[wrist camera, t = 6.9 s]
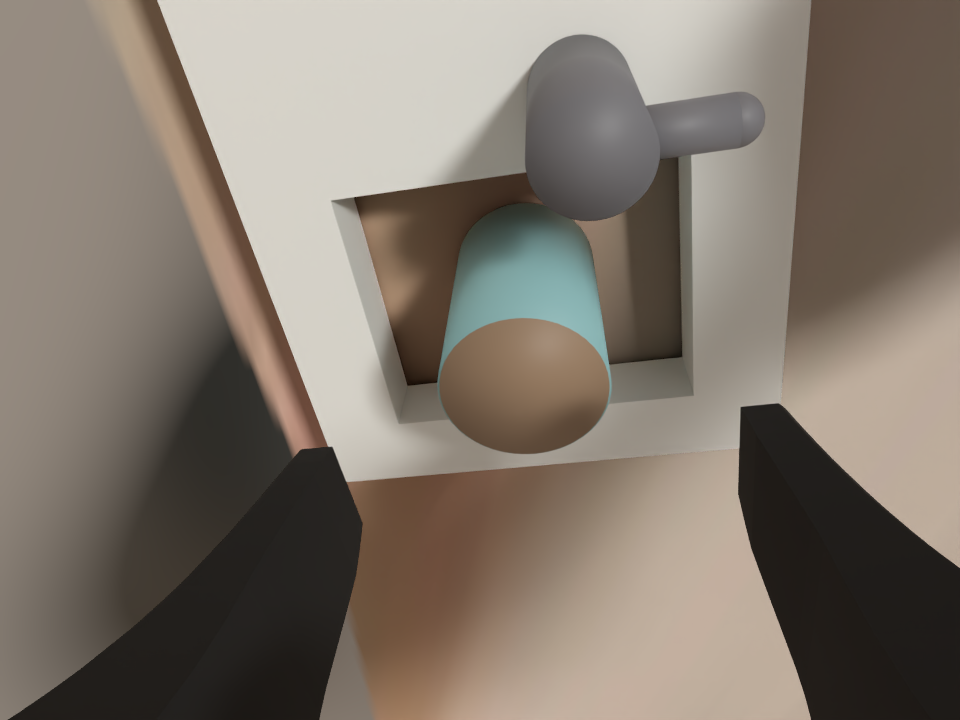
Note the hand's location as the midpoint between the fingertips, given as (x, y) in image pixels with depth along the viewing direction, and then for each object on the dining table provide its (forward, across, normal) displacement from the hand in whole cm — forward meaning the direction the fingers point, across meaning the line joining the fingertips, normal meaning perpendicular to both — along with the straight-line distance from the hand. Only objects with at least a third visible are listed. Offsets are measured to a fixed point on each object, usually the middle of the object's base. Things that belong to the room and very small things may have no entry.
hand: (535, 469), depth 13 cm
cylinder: (+10, 0, +1) cm, 10 cm away
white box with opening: (+10, 0, -3) cm, 10 cm away
